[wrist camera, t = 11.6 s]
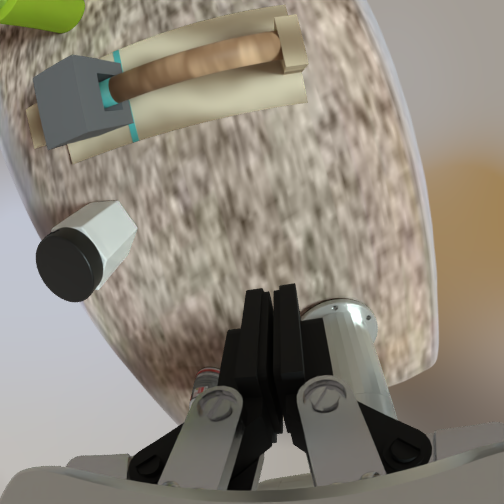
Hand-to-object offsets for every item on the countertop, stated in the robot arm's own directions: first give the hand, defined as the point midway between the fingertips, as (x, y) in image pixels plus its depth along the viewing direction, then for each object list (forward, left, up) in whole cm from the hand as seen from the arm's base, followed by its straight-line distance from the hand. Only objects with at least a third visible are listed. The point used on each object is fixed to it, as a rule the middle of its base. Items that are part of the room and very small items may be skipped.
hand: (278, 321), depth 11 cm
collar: (+13, +17, -25) cm, 33 cm away
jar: (-3, +23, -27) cm, 36 cm away
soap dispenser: (+29, +22, -27) cm, 46 cm away
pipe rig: (+13, +10, -27) cm, 32 cm away
